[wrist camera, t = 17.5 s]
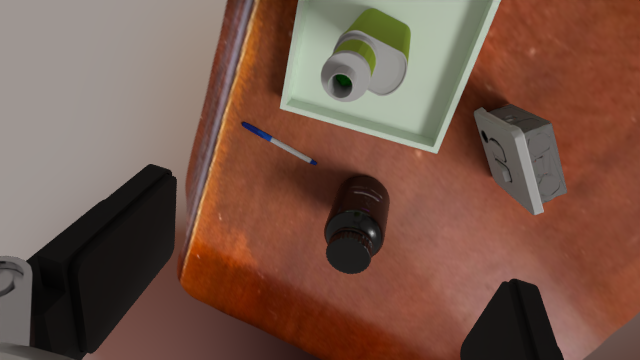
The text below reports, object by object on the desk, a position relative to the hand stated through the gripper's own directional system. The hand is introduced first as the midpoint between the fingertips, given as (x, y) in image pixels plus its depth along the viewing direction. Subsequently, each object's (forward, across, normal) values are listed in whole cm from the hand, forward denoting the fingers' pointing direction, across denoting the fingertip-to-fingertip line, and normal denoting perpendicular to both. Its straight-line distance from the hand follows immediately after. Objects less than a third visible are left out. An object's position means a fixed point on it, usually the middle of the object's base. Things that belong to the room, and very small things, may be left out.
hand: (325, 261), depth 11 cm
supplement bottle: (+36, -2, +21) cm, 42 cm away
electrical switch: (+36, -15, +8) cm, 40 cm away
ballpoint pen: (+37, +10, +17) cm, 41 cm away
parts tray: (+36, +1, +1) cm, 36 cm away
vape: (+36, +1, +1) cm, 36 cm away
